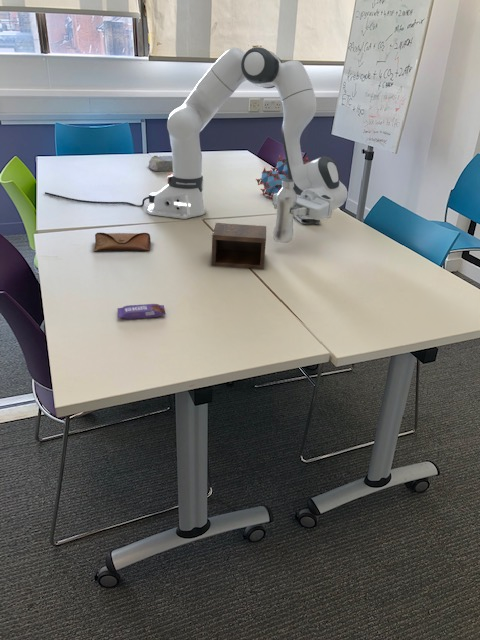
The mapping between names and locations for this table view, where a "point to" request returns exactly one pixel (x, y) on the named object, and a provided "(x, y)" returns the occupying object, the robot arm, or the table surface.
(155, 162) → the geological specimen
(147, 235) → the sunglasses case
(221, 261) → the dark wooden box
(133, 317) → the snack package
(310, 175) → the robot arm
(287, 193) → the plastic bottle
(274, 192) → the molecule model
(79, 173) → the table surface
